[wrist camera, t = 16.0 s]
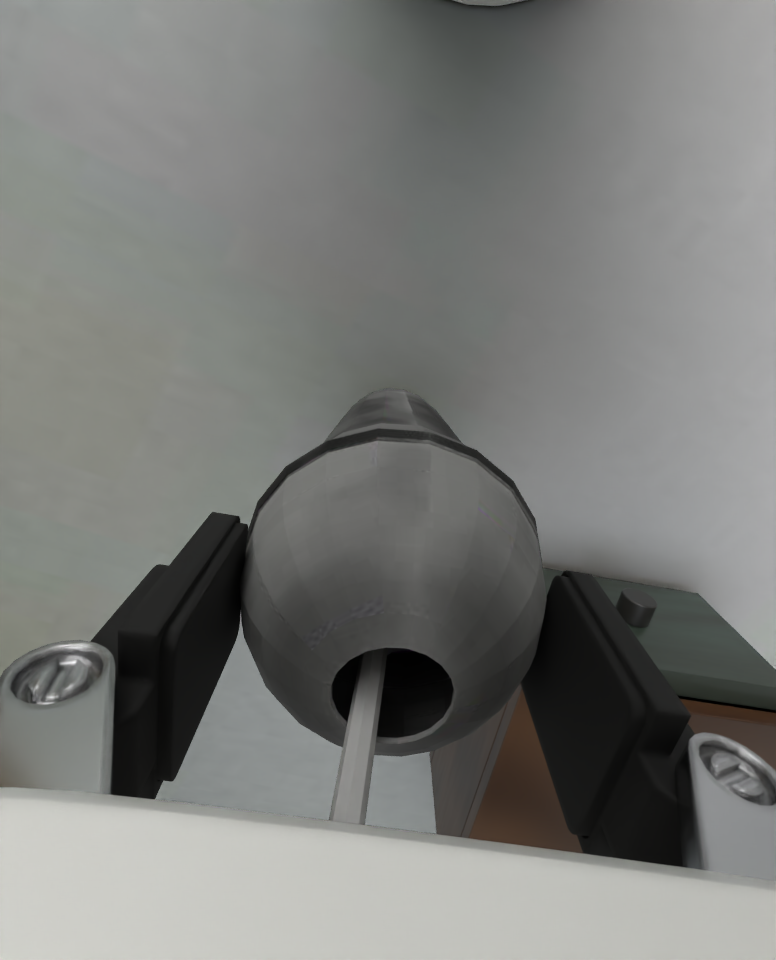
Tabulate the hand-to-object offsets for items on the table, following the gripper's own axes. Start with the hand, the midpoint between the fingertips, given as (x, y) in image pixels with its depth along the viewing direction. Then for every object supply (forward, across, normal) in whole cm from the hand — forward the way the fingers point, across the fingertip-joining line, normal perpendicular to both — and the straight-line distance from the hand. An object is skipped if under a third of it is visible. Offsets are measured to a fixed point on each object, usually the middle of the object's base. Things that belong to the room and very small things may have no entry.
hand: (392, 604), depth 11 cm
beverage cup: (+13, 0, 0) cm, 13 cm away
